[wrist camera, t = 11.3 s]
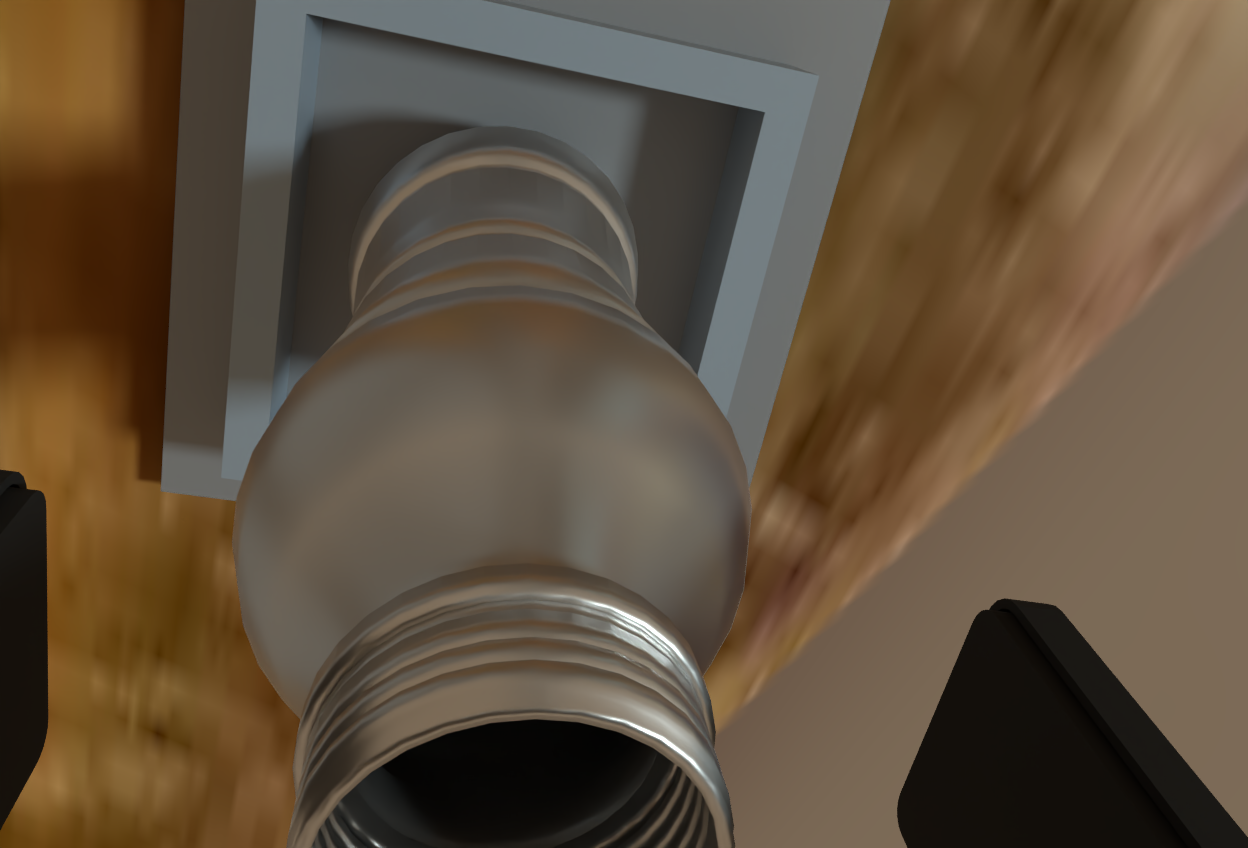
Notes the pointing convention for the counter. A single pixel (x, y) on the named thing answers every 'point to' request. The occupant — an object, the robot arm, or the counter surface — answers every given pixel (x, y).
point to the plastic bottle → (496, 528)
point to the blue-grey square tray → (482, 97)
